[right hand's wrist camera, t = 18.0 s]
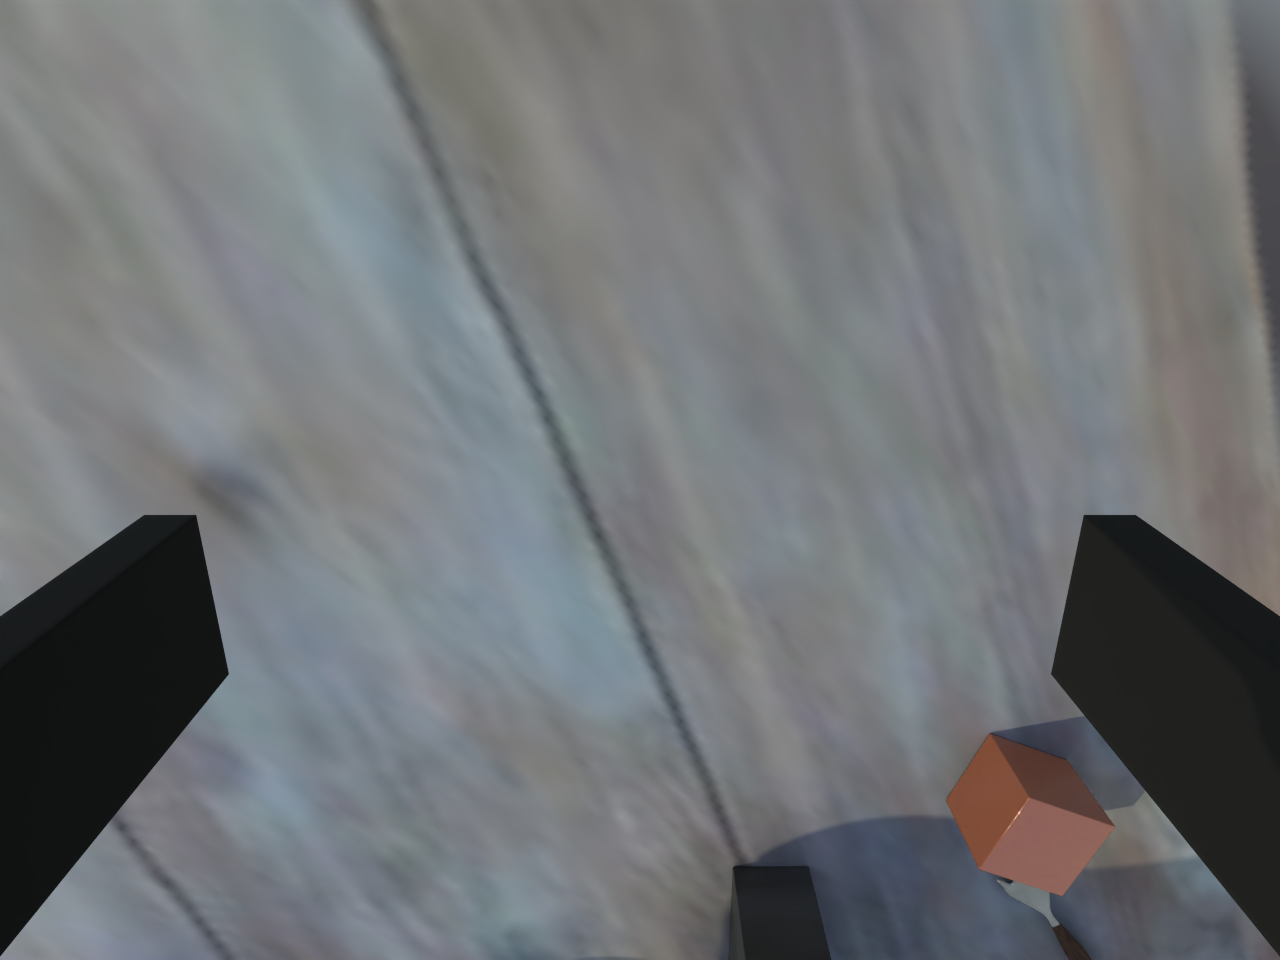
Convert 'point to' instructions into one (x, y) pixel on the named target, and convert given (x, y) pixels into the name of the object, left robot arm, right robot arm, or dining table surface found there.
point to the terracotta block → (1027, 815)
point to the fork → (1046, 915)
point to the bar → (775, 915)
